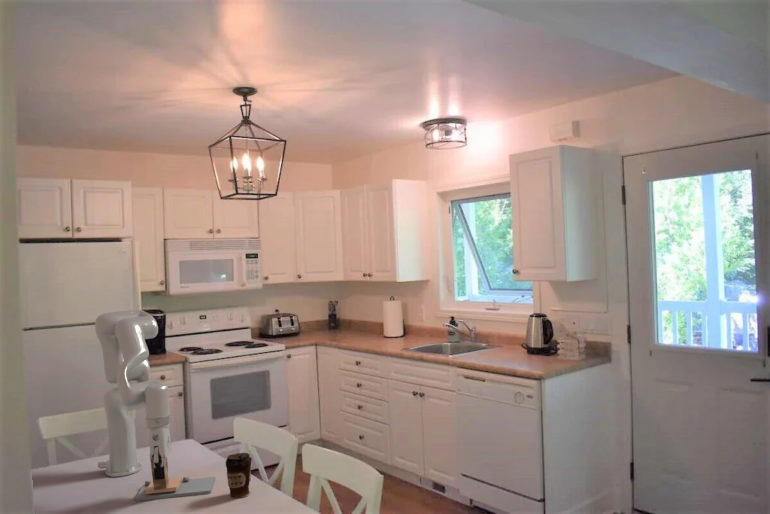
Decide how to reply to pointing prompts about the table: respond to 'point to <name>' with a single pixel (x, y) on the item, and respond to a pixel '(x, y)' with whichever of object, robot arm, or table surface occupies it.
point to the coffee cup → (239, 474)
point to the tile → (172, 486)
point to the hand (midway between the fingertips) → (161, 476)
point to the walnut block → (161, 482)
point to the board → (180, 489)
